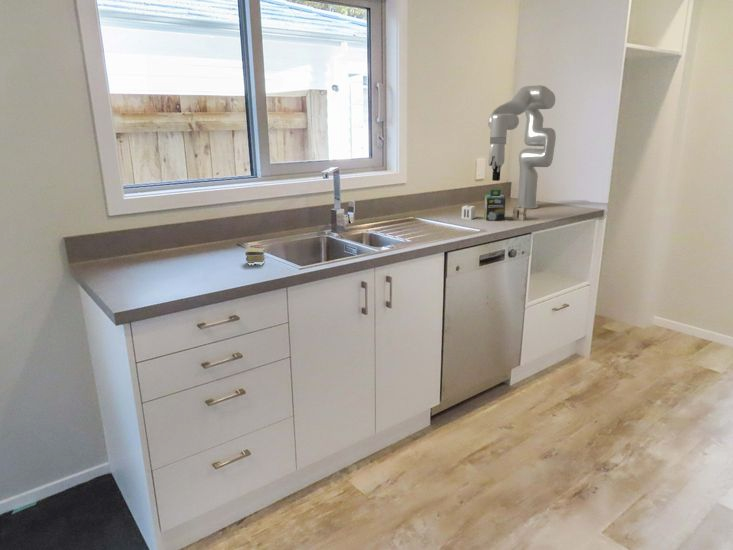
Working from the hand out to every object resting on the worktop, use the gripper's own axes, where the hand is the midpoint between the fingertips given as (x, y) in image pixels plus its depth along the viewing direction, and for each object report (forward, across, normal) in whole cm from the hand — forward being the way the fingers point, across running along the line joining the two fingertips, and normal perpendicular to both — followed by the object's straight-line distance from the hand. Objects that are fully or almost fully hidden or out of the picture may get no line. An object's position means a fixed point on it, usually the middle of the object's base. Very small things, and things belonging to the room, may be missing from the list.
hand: (496, 180), depth 251 cm
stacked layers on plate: (+20, +119, -46) cm, 129 cm away
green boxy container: (+19, 0, 0) cm, 19 cm away
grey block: (+19, +4, -12) cm, 23 cm away
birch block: (+19, -5, +11) cm, 23 cm away
